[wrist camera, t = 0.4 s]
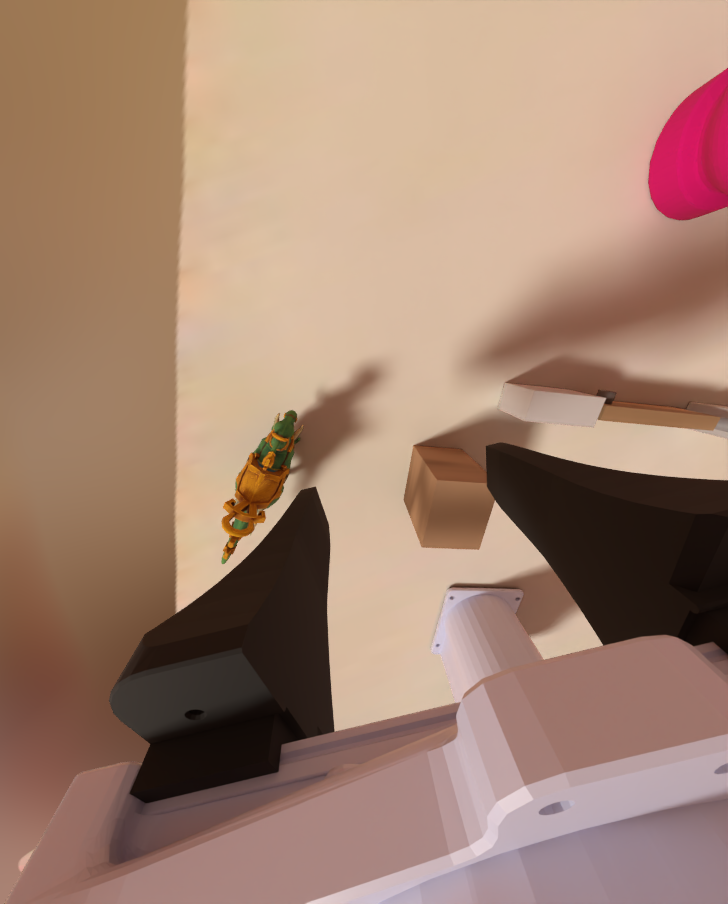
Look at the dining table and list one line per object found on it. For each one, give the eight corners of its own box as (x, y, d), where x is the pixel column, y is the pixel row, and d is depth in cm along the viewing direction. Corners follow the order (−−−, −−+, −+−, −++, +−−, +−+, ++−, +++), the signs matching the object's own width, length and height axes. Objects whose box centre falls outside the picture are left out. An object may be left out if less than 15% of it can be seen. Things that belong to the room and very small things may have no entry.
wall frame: (720, 430, 24) (786, 446, 20) (497, 409, 22) (527, 422, 18) (734, 406, 23) (805, 418, 20) (504, 382, 21) (537, 391, 17)
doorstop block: (448, 501, 25) (479, 549, 19) (403, 499, 24) (421, 547, 19) (461, 448, 23) (499, 484, 17) (413, 445, 22) (436, 480, 17)
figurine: (322, 406, 21) (311, 445, 13) (262, 528, 24) (225, 614, 17) (283, 386, 20) (247, 415, 12) (226, 515, 24) (172, 598, 16)
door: (665, 418, 23) (713, 430, 20) (565, 409, 22) (600, 420, 19) (676, 396, 22) (727, 405, 19) (574, 385, 21) (611, 393, 18)
